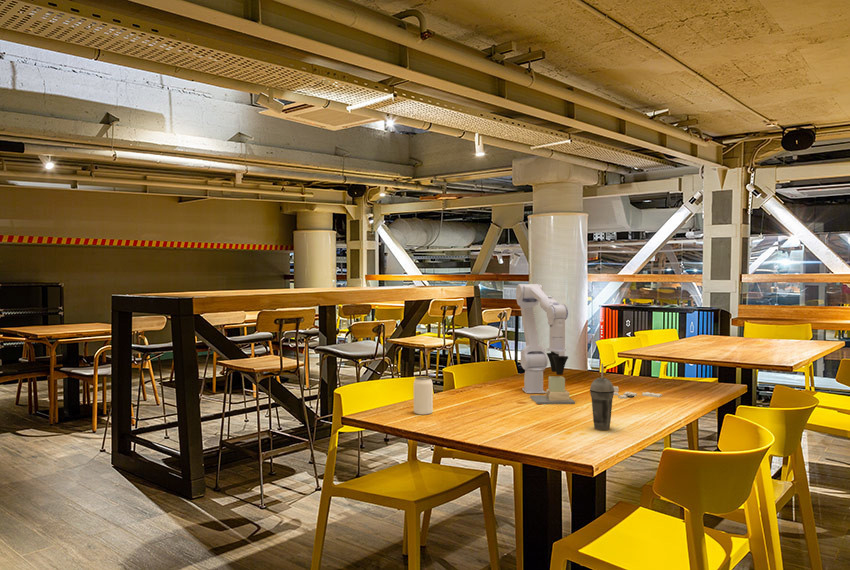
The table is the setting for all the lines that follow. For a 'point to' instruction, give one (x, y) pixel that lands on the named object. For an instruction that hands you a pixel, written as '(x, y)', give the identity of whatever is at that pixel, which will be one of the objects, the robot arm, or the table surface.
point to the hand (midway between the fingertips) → (557, 373)
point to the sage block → (556, 384)
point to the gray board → (544, 400)
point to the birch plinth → (557, 395)
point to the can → (423, 395)
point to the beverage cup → (602, 402)
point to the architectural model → (634, 394)
